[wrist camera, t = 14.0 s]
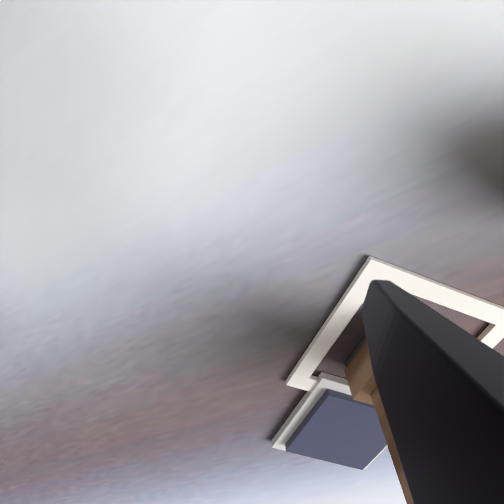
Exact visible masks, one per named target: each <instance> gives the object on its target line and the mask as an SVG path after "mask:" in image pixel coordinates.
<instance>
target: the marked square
mask: <svg viewBox="0 0 504 504" xmlns="http://www.w3.org/2000/svg"><path fill="white" fill-rule="evenodd" d="M372 280H389V281H391V282H393V283H394V284H396V285H397V286H399V287H400V288H402V289H403V290H405V291H406V292H408V293H410V294H413V295H416V296H418V297H421V298H424V299H426V300H429V301H432V302H435V303H437V304H440V305H443V306H446V307H448V308H451V309H454V310H456V311H459V312H462V313H465V314H467V315H470V316H473V317H475V318H478V319H481V320H484V321H486V322H489V323H490V324H489V325H488V326H487V328H486V329H485V330H484V331H483V332H482V333H481V334H480V335H479V336H478V337H477V339H478V340H480V341H481V342H483V343H484V344H486V345H487V346H489V347H490V348H493V347H494V346H495V345H496V344H497V343H498V342H499V341H500V340H501V339H502V338H503V337H504V307H502V306H500V305H497V304H494V303H492V302H489V301H487V300H484V299H481V298H479V297H476V296H473V295H471V294H468V293H466V292H463V291H460V290H458V289H455V288H453V287H450V286H447V285H445V284H442V283H439V282H437V281H434V280H432V279H429V278H426V277H424V276H421V275H419V274H416V273H413V272H411V271H408V270H405V269H403V268H400V267H398V266H395V265H392V264H390V263H387V262H384V261H382V260H379V259H377V258H374V257H371V256H369V257H368V258H367V260H366V261H365V263H364V264H363V266H362V267H361V269H360V270H359V272H358V273H357V275H356V276H355V278H354V279H353V281H352V282H351V284H350V285H349V287H348V288H347V290H346V291H345V293H344V294H343V296H342V297H341V299H340V300H339V302H338V303H337V305H336V306H335V308H334V309H333V311H332V312H331V314H330V315H329V317H328V318H327V320H326V321H325V323H324V324H323V326H322V327H321V329H320V330H319V332H318V333H317V335H316V336H315V337H314V339H313V340H312V342H311V343H310V345H309V346H308V348H307V349H306V351H305V352H304V354H303V355H302V357H301V358H300V360H299V361H298V363H297V364H296V366H295V367H294V369H293V370H292V372H291V373H290V375H289V376H288V378H287V379H286V385H288V386H292V387H295V388H299V389H302V390H306V391H309V392H311V391H312V389H313V388H314V387H315V385H316V384H317V383H318V377H316V376H313V375H312V373H313V372H314V370H315V369H316V368H317V366H318V365H319V363H320V362H321V361H322V359H323V358H324V356H325V355H326V354H327V352H328V351H329V349H330V348H331V347H332V345H333V344H334V342H335V341H336V340H337V338H338V337H339V335H340V334H341V333H342V331H343V330H344V328H345V327H346V325H347V324H348V323H349V321H350V320H351V318H352V317H353V316H354V314H355V313H356V311H357V310H358V309H359V307H360V306H361V304H362V303H363V302H364V300H365V297H366V294H367V290H368V287H369V284H370V282H371V281H372Z"/></svg>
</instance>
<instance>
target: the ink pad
mask: <svg viewBox="0 0 504 504" xmlns="http://www.w3.org/2000/svg"><path fill="white" fill-rule="evenodd" d="M271 442H272V448H276V449H280V450H285V451H287V452H291V453H295V454H299V455H304V456H308V457H312V458H316V459H320V460H324V461H328V462H332V463H336V464H340V465H344V466H348V467H353V468H357V469H361V470H364V469H365V468H366V467H367V466H368V465H369V464H370V463H371V462H372V461H373V460H374V459H375V458H376V457H377V456H378V455H379V454H380V453H381V452H382V451H383V450H384V449H385V448H386V447H387V443H386V440H385V437H384V434H383V431H382V428H381V425H380V422H379V419H378V416H377V413H376V410H375V407H374V405H371V404H368V403H364V402H360V401H357V400H353V398H352V395H351V391H350V388H349V384H348V381H347V379H344V378H341V377H338V376H334V375H331V374H328V373H324V372H321V373H320V374H319V376H318V383H317V384H316V385H315V387H314V388H313V389H312V391H311V392H309V391H307V392H306V393H305V395H304V396H303V398H302V399H301V400H300V402H299V403H298V405H297V406H296V407H295V409H294V410H293V411H292V413H291V414H290V416H289V417H288V418H287V420H286V421H285V422H284V424H283V425H282V427H281V428H280V429H279V431H278V432H277V433H276V435H275V436H274V438H273V439H272V440H271Z"/></svg>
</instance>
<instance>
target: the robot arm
mask: <svg viewBox="0 0 504 504" xmlns="http://www.w3.org/2000/svg"><path fill="white" fill-rule="evenodd" d="M362 319H363V324H364V329H365V335H366V340H367V345H368V351H369V356H370V361H371V366H372V371H373V375H374V378H375V382H376V385H377V388H378V392H379V395H380V398H381V401H382V404H383V407H384V411H385V414H386V417H387V420H388V423H389V426H390V430H391V433H392V436H393V439H394V442H395V445H396V449H397V452H398V455H399V458H400V461H401V465H402V468H403V471H404V474H405V477H406V480H407V484H408V487H409V490H410V493H411V496H412V499H413V503H414V504H504V356H503V355H501V354H500V353H498V352H496V351H495V350H493V349H492V348H490V347H489V346H487V345H486V344H484V343H483V342H481V341H480V340H478V339H477V338H475V337H474V336H472V335H471V334H469V333H468V332H466V331H465V330H463V329H462V328H460V327H459V326H457V325H456V324H454V323H453V322H451V321H450V320H448V319H447V318H445V317H444V316H442V315H441V314H439V313H438V312H436V311H435V310H433V309H432V308H430V307H429V306H427V305H426V304H424V303H423V302H421V301H420V300H418V299H417V298H415V297H414V296H412V295H411V294H409V293H408V292H406V291H405V290H403V289H402V288H400V287H399V286H397V285H396V284H394V283H393V282H391V281H389V280H372V281H371V282H370V284H369V287H368V290H367V294H366V297H365V301H364V304H363V308H362Z"/></svg>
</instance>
